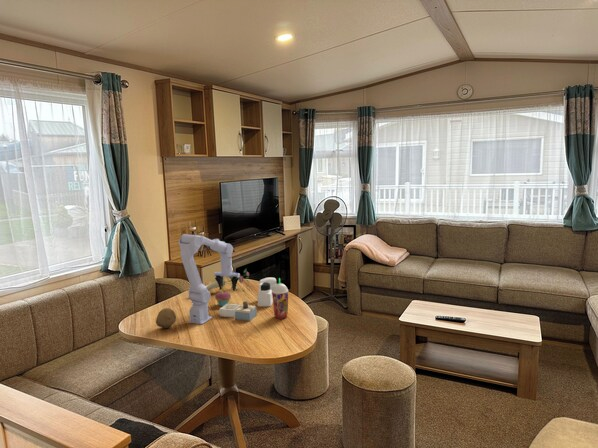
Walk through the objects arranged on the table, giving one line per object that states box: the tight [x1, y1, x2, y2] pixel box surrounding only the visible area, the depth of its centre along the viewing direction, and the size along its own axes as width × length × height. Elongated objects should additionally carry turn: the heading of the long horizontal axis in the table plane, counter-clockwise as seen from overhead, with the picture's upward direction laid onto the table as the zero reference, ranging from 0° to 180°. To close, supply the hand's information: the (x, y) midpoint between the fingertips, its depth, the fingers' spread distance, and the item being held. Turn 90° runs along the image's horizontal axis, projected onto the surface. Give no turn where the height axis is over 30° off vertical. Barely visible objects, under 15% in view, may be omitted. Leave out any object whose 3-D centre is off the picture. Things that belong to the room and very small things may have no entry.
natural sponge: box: [155, 307, 177, 329], centre depth 194 cm, size 9×9×10 cm
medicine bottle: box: [256, 282, 273, 307], centre depth 223 cm, size 7×7×12 cm
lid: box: [236, 301, 257, 313], centre depth 205 cm, size 7×7×4 cm
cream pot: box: [218, 303, 242, 319], centre depth 210 cm, size 8×8×4 cm
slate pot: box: [234, 307, 258, 322], centre depth 205 cm, size 8×8×4 cm
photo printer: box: [258, 277, 277, 290], centre depth 232 cm, size 10×4×12 cm, turn 117°
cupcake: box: [214, 286, 232, 307], centre depth 224 cm, size 9×8×12 cm
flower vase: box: [205, 268, 250, 292], centre depth 248 cm, size 12×12×35 cm
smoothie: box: [272, 277, 289, 320], centre depth 203 cm, size 8×8×20 cm
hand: (227, 289), depth 221 cm, fingers open, 7 cm apart
